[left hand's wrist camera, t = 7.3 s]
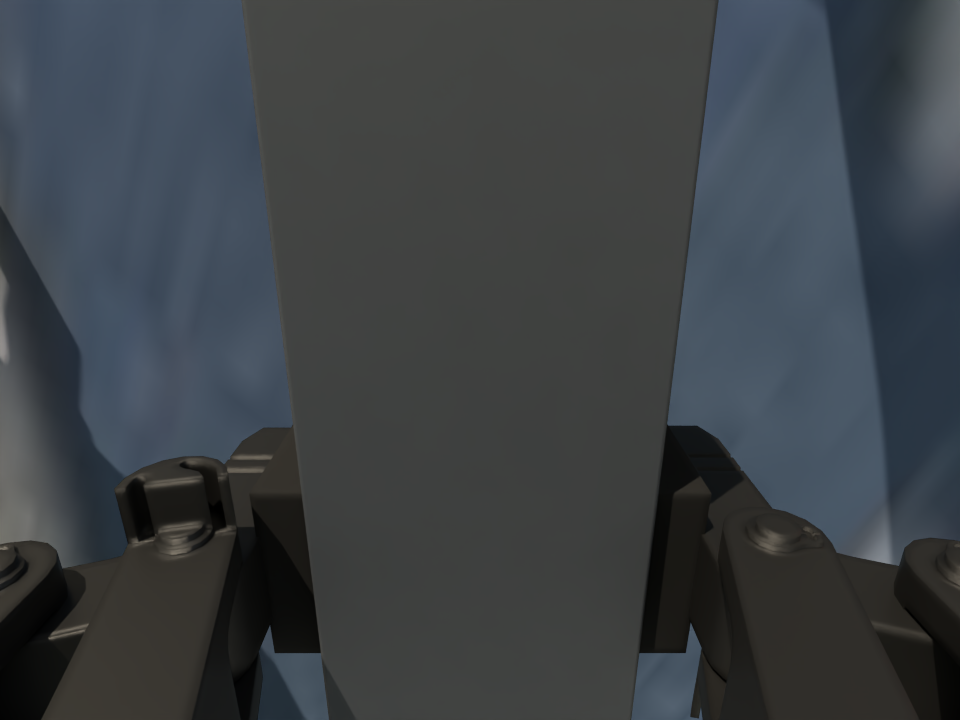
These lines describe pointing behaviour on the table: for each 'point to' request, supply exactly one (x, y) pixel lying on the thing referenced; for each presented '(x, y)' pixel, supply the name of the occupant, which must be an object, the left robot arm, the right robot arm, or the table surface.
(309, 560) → the left robot arm
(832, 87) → the table surface
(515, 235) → the post
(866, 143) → the table surface
